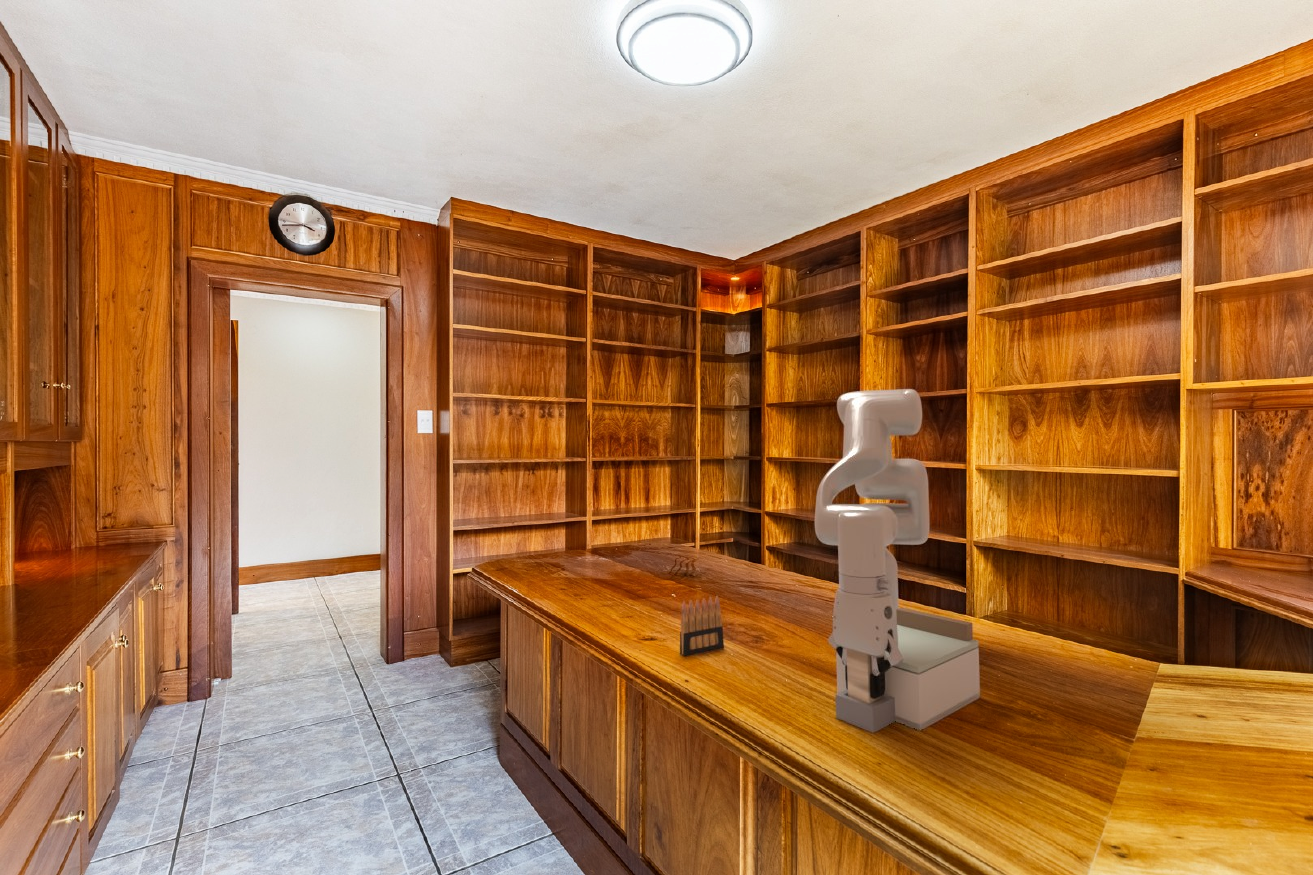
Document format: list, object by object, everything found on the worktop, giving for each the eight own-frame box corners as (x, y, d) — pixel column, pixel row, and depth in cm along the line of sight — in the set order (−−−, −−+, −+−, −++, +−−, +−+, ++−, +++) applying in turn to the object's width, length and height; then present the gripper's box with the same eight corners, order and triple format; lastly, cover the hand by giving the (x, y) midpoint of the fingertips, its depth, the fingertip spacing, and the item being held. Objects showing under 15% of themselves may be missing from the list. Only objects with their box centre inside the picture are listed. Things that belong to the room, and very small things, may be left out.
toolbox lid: (898, 626, 126) (897, 606, 126) (978, 645, 114) (977, 623, 114) (836, 648, 114) (835, 626, 114) (918, 673, 102) (917, 648, 102)
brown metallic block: (862, 712, 109) (860, 642, 109) (883, 719, 106) (881, 648, 106) (848, 718, 107) (846, 648, 107) (869, 727, 103) (867, 654, 103)
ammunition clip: (683, 656, 139) (682, 602, 139) (679, 654, 141) (678, 600, 141) (724, 648, 144) (722, 595, 144) (719, 645, 146) (718, 594, 146)
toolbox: (899, 672, 126) (898, 627, 126) (979, 697, 114) (978, 647, 114) (815, 709, 111) (813, 658, 111) (898, 742, 98) (896, 685, 98)
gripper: (920, 588, 102) (923, 701, 102) (834, 572, 115) (837, 672, 115) (894, 596, 97) (897, 714, 97) (808, 579, 111) (811, 683, 111)
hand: (865, 690), depth 106 cm, fingers closed on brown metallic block, 4 cm apart
